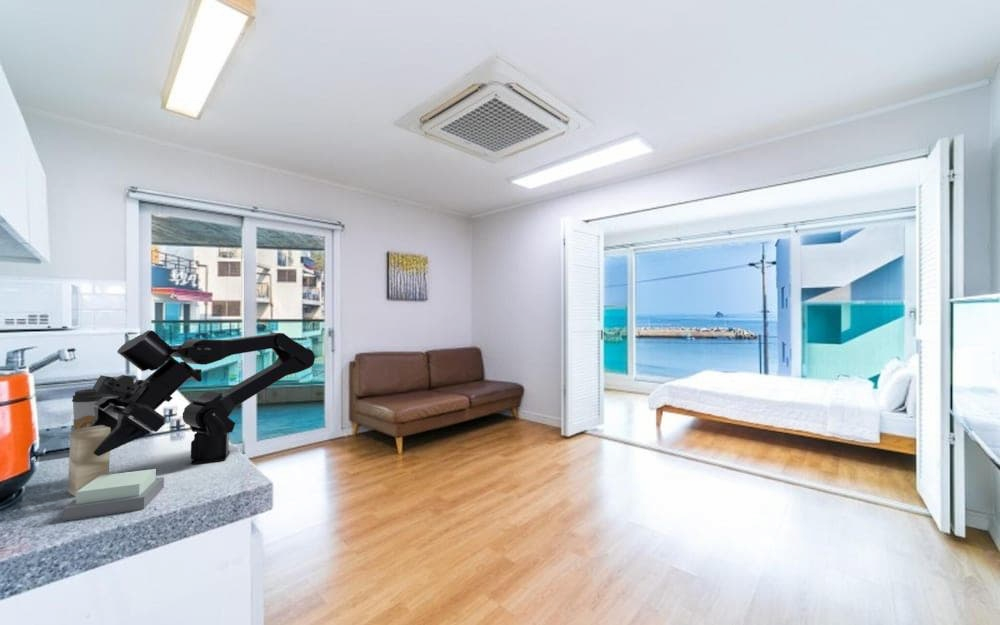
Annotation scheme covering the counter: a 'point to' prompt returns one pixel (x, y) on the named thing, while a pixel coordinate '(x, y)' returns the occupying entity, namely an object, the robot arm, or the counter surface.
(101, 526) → the counter surface
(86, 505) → the tower base
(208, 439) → the robot arm
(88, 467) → the pillar
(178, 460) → the counter surface
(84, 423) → the coffee cup
